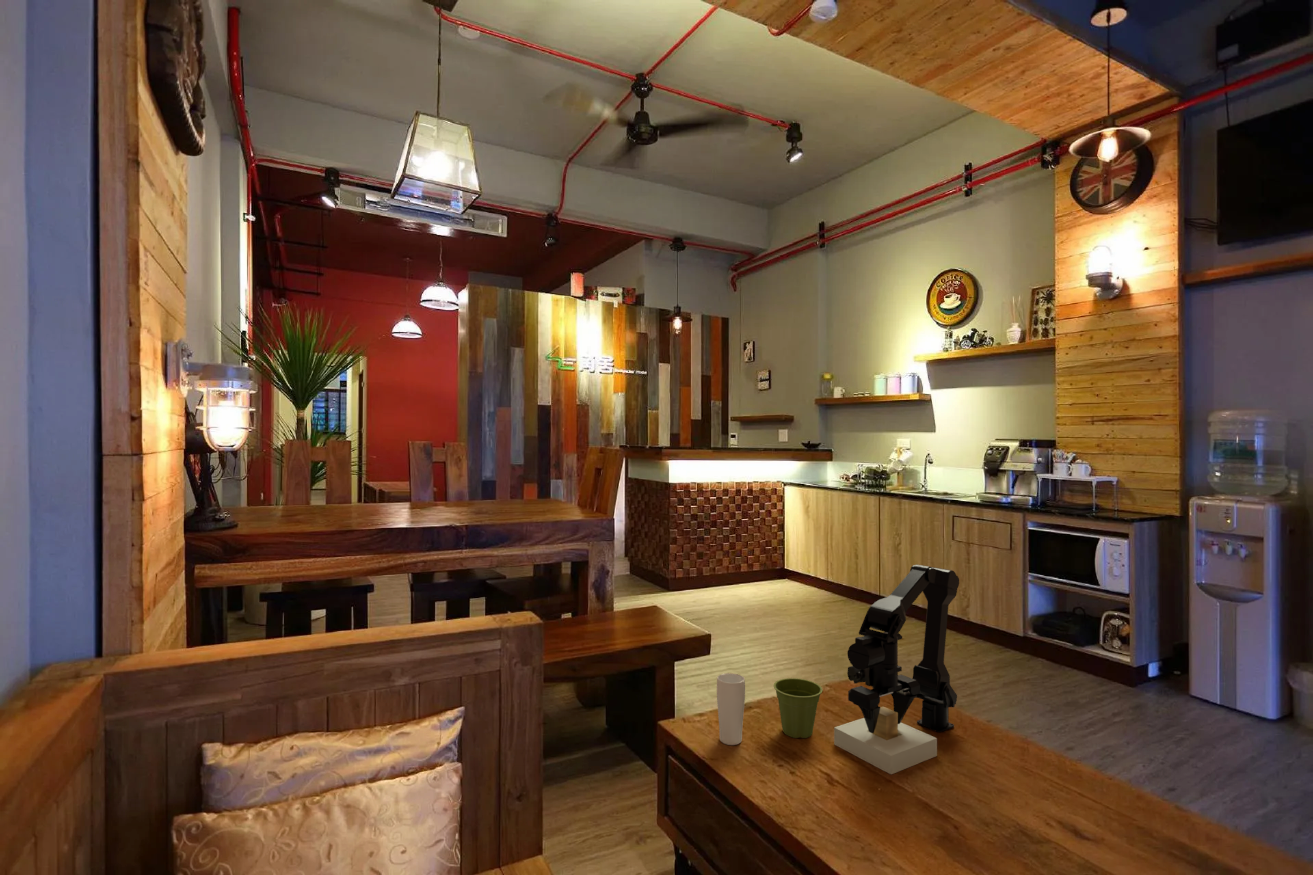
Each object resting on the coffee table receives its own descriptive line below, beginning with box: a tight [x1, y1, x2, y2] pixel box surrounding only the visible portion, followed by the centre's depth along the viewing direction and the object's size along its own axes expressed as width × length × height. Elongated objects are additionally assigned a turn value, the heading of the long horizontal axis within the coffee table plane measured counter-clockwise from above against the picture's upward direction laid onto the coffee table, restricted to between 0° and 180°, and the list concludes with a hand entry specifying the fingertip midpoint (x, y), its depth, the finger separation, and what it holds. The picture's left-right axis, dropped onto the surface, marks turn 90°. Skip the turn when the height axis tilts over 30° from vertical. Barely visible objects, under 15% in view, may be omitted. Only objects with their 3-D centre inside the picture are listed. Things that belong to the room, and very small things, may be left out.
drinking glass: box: [716, 672, 746, 746], centre depth 150 cm, size 7×7×15 cm
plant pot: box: [773, 677, 823, 739], centre depth 155 cm, size 12×12×11 cm
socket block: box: [833, 717, 938, 775], centre depth 146 cm, size 16×16×4 cm
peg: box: [872, 706, 898, 740], centre depth 146 cm, size 4×4×9 cm
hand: (884, 727), depth 146 cm, fingers open, 9 cm apart
